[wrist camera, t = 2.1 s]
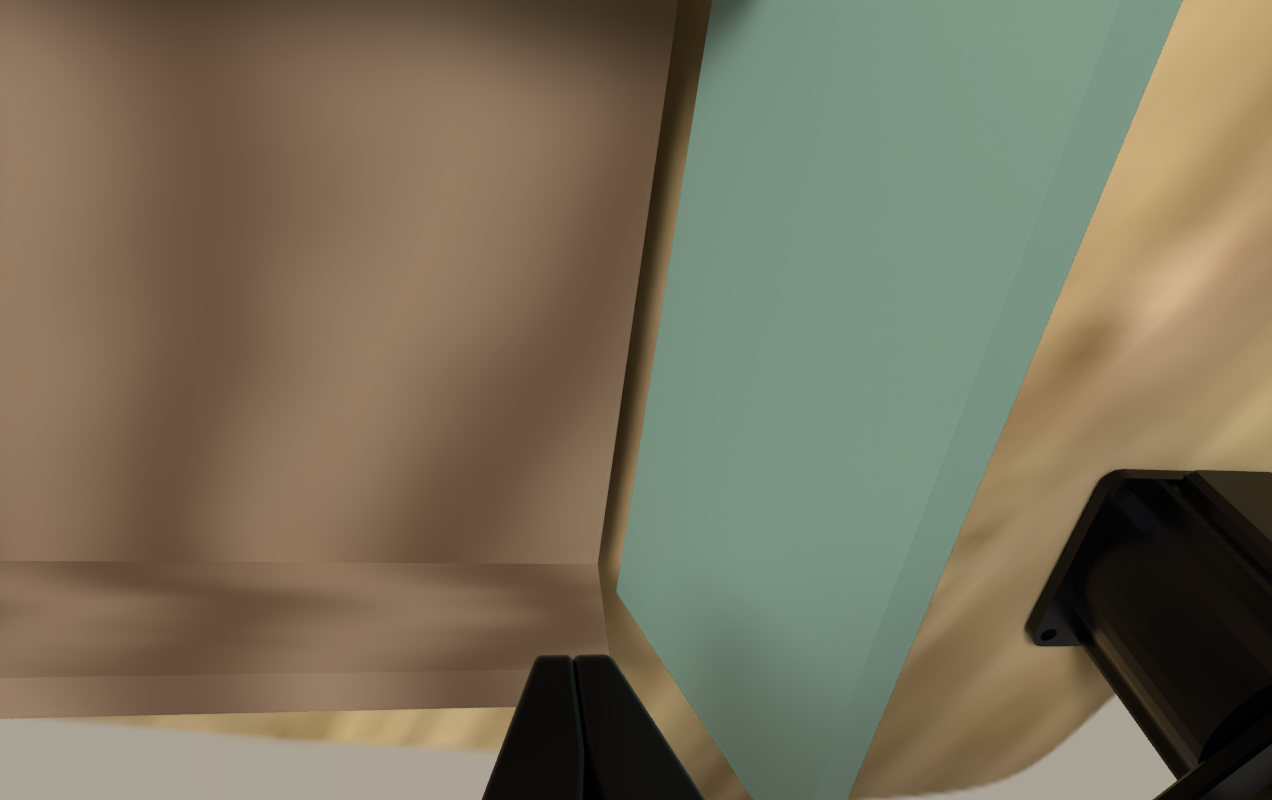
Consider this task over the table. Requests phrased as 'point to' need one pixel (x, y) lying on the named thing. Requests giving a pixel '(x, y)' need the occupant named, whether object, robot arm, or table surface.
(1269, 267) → the table surface
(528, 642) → the truck bed
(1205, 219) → the table surface
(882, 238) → the tailgate
